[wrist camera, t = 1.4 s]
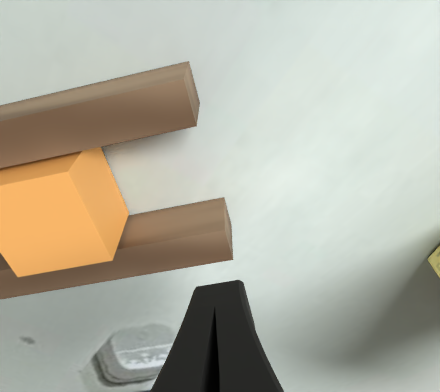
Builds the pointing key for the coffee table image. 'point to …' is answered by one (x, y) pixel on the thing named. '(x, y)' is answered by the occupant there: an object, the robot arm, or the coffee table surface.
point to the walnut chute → (106, 135)
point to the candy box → (435, 260)
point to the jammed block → (60, 213)
